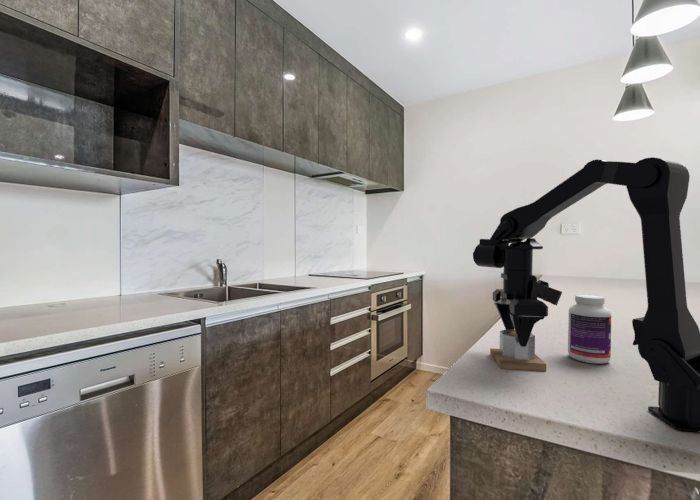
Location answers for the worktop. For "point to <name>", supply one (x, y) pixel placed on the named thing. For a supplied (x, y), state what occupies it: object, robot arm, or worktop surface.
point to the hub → (516, 347)
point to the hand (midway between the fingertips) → (516, 340)
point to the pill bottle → (589, 330)
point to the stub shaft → (514, 364)
